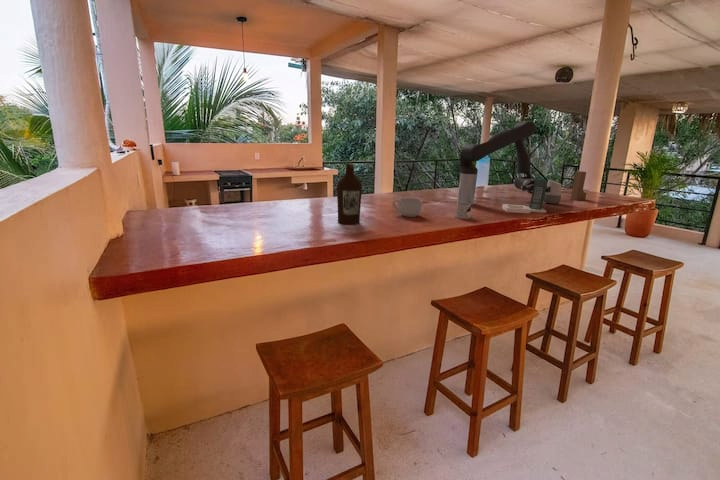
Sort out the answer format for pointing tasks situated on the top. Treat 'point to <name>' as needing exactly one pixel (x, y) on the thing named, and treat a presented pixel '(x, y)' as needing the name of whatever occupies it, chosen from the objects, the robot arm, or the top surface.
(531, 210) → the white rectangular plate
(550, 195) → the smart speaker
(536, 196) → the can
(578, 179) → the wooden block
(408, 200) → the teacup
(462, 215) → the mug
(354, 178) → the olive oil
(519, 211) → the well rim
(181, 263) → the top surface
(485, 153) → the robot arm
